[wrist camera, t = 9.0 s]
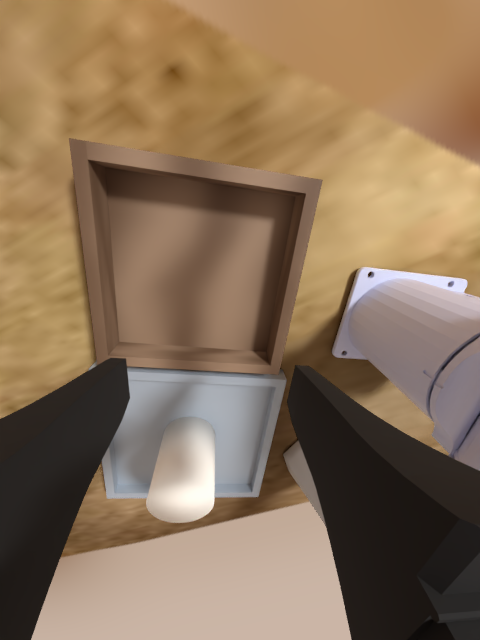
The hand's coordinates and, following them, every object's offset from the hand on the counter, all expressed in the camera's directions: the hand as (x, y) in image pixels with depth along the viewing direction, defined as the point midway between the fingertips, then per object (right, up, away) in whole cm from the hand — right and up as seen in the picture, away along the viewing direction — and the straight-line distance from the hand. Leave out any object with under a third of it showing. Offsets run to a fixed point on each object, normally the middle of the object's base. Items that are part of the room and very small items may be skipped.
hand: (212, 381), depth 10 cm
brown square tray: (-2, +6, +7) cm, 10 cm away
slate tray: (-4, -9, +14) cm, 17 cm away
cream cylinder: (-4, -9, +13) cm, 16 cm away
